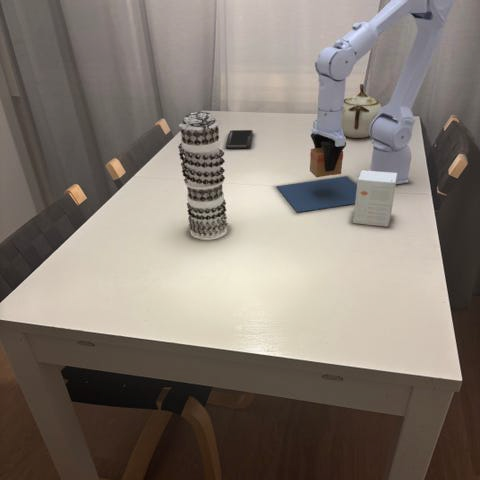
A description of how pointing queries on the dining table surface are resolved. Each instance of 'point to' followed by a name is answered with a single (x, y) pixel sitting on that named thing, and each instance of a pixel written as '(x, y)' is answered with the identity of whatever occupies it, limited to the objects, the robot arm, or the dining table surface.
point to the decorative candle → (203, 175)
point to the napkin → (320, 194)
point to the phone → (239, 139)
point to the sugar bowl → (359, 114)
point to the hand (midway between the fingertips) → (325, 166)
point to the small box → (374, 198)
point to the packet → (323, 163)
